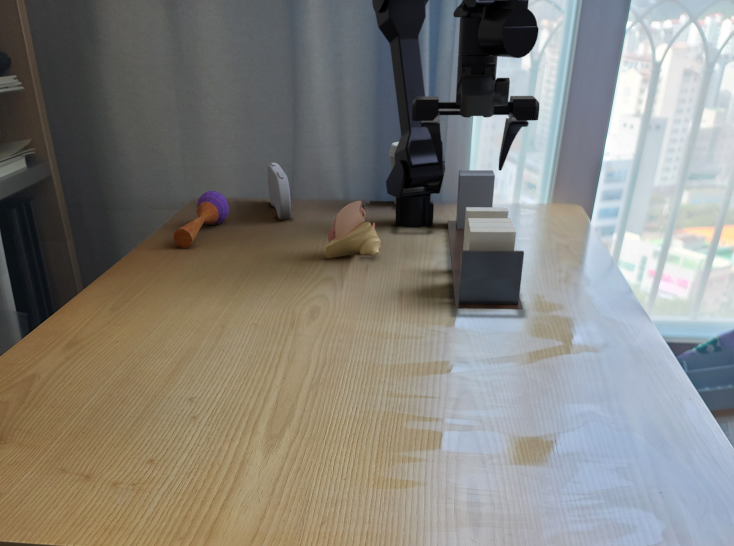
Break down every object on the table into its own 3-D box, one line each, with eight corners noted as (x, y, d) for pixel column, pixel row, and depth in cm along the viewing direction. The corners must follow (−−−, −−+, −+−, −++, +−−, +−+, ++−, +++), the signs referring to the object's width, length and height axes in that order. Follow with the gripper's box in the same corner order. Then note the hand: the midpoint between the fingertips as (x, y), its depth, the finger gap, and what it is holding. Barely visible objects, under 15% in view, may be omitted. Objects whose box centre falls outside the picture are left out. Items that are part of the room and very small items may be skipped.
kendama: (160, 224, 128) (198, 189, 143) (173, 258, 131) (208, 221, 147) (192, 218, 126) (227, 184, 142) (204, 252, 130) (236, 216, 145)
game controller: (293, 223, 144) (290, 176, 139) (281, 223, 143) (278, 177, 139) (279, 201, 160) (277, 159, 155) (269, 201, 159) (266, 159, 155)
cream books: (465, 298, 103) (470, 231, 98) (463, 282, 109) (467, 217, 104) (509, 299, 103) (516, 231, 98) (504, 282, 109) (511, 218, 104)
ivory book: (462, 273, 113) (466, 211, 108) (461, 268, 115) (465, 207, 110) (502, 273, 112) (508, 211, 107) (501, 269, 114) (507, 207, 109)
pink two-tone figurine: (395, 256, 126) (389, 225, 117) (346, 290, 126) (337, 262, 117) (365, 217, 128) (356, 184, 119) (317, 251, 128) (305, 220, 119)
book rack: (455, 315, 101) (458, 255, 96) (447, 226, 140) (449, 180, 136) (522, 316, 100) (529, 255, 95) (495, 226, 140) (499, 180, 135)
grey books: (456, 229, 134) (460, 175, 129) (456, 222, 138) (459, 170, 133) (490, 229, 134) (494, 175, 129) (488, 222, 138) (492, 170, 133)
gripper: (412, 59, 103) (409, 180, 112) (550, 57, 102) (536, 180, 110) (414, 54, 112) (411, 166, 121) (540, 52, 111) (528, 166, 119)
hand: (470, 170), depth 118 cm, fingers open, 9 cm apart
